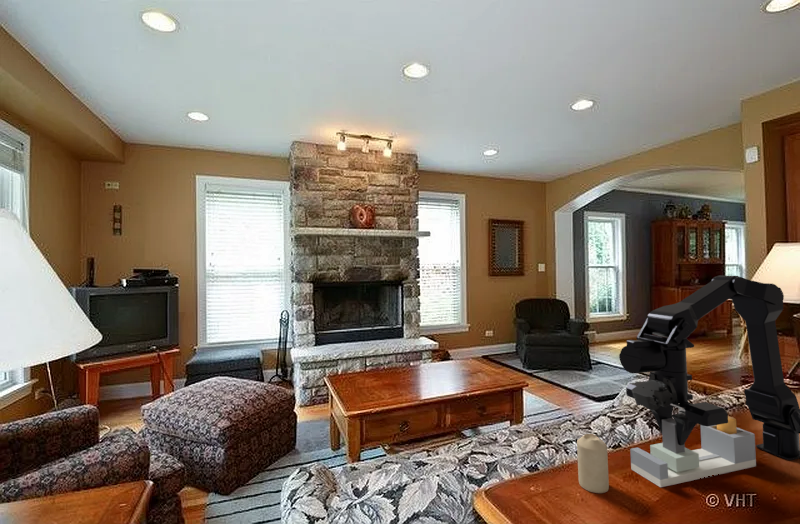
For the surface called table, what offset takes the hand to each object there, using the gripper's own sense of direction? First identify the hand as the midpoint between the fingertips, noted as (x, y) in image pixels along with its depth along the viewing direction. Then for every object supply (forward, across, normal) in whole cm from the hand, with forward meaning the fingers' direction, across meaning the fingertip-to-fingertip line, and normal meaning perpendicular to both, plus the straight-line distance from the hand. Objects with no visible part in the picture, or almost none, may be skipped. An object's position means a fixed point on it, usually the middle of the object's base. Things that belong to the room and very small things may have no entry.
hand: (673, 441), depth 80 cm
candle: (+7, -1, -20) cm, 21 cm away
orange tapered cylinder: (+3, 0, +15) cm, 15 cm away
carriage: (+4, 0, 0) cm, 4 cm away
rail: (+6, 0, +5) cm, 8 cm away
